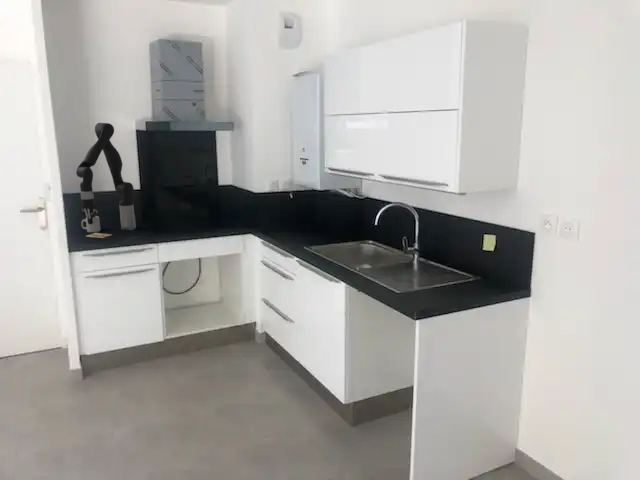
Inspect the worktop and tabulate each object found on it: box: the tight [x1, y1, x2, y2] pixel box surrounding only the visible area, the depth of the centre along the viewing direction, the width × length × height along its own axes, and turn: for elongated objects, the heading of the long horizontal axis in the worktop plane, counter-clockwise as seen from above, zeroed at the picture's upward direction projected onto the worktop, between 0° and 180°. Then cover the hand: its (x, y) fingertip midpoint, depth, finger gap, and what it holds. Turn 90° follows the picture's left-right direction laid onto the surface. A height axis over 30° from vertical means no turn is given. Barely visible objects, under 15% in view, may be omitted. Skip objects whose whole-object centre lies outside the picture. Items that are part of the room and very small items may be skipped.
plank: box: [85, 232, 104, 238], centre depth 346 cm, size 10×7×1 cm
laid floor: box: [96, 233, 113, 239], centre depth 345 cm, size 11×14×2 cm
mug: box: [80, 215, 101, 233], centre depth 357 cm, size 12×8×11 cm
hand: (90, 224), depth 343 cm, fingers closed
